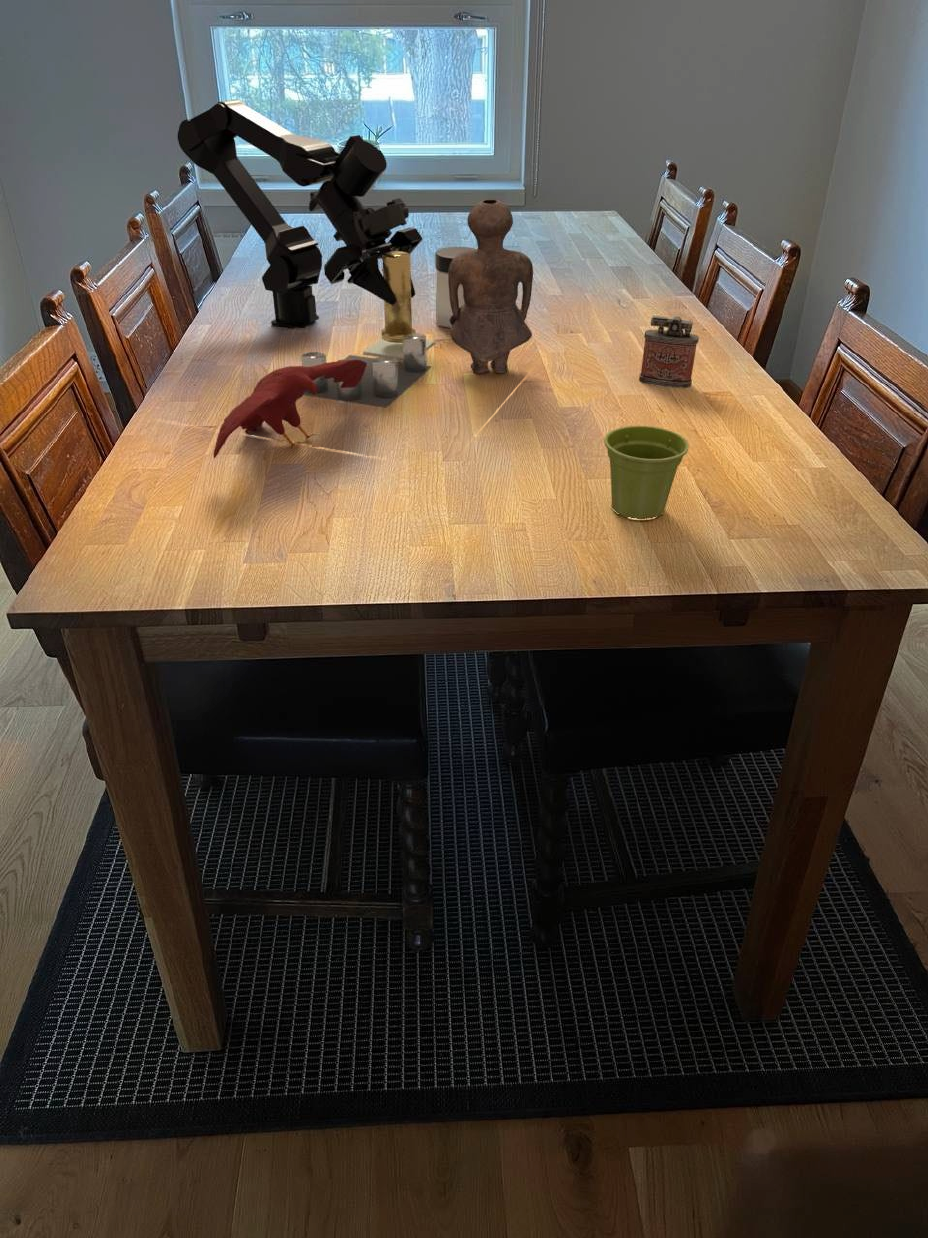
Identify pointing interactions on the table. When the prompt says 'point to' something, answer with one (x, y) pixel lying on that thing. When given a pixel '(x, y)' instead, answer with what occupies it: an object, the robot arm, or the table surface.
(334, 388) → the mat
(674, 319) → the lighter
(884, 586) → the table surface
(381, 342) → the tile
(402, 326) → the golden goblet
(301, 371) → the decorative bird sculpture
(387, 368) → the spacers
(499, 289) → the clay figurine
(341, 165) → the robot arm
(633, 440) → the plant pot
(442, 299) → the jar
